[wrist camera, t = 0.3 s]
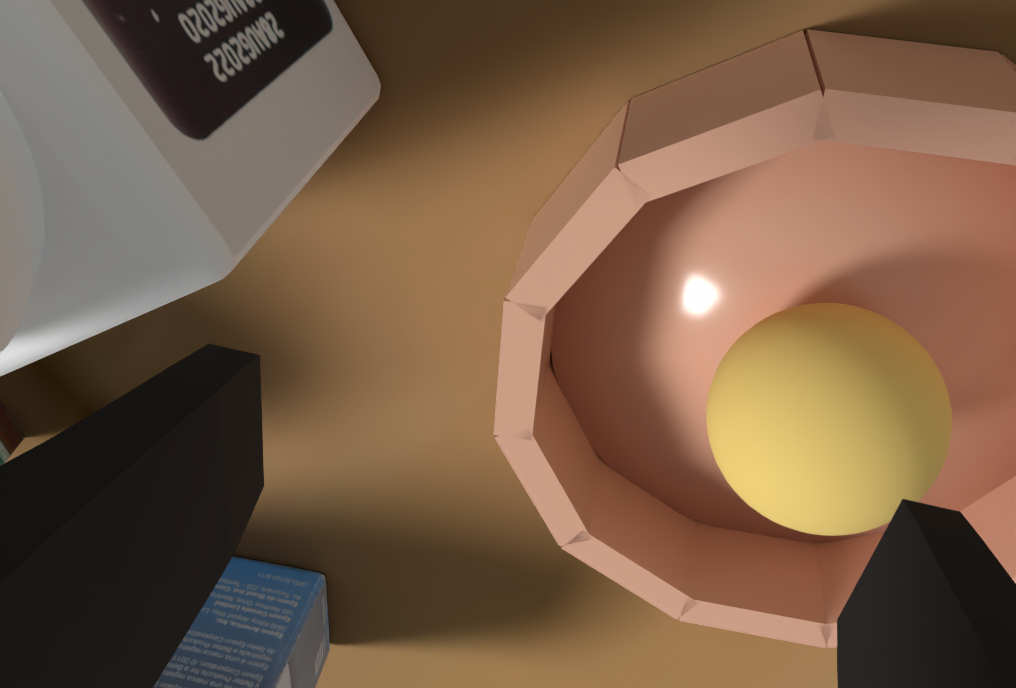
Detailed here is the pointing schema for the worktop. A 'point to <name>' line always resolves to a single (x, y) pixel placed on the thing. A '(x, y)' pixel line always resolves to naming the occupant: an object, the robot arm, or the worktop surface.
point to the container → (155, 149)
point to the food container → (8, 435)
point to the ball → (828, 418)
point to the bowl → (761, 308)
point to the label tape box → (255, 631)
